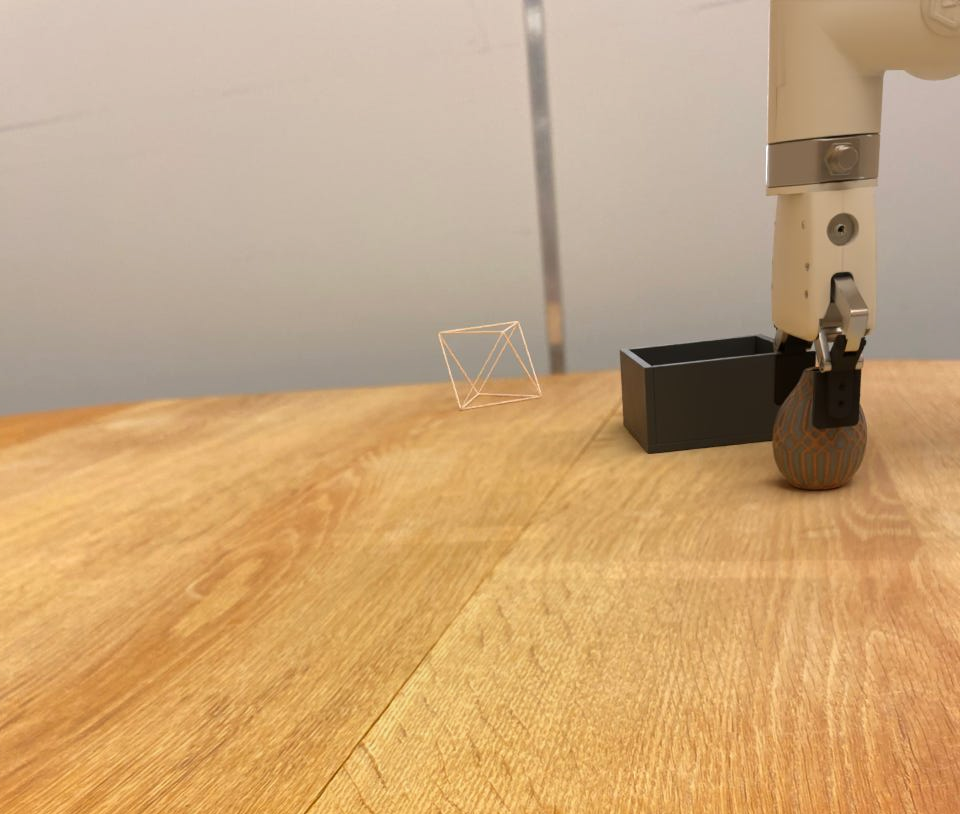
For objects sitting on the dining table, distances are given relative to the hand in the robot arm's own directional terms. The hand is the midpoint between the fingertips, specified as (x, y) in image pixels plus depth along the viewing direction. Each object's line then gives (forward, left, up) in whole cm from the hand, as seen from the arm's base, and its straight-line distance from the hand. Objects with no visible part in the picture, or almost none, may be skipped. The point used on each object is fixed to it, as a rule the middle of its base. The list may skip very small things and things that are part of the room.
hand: (813, 414), depth 81 cm
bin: (+3, -24, -5) cm, 25 cm away
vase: (0, 0, -6) cm, 6 cm away
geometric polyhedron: (+23, -56, -6) cm, 61 cm away
